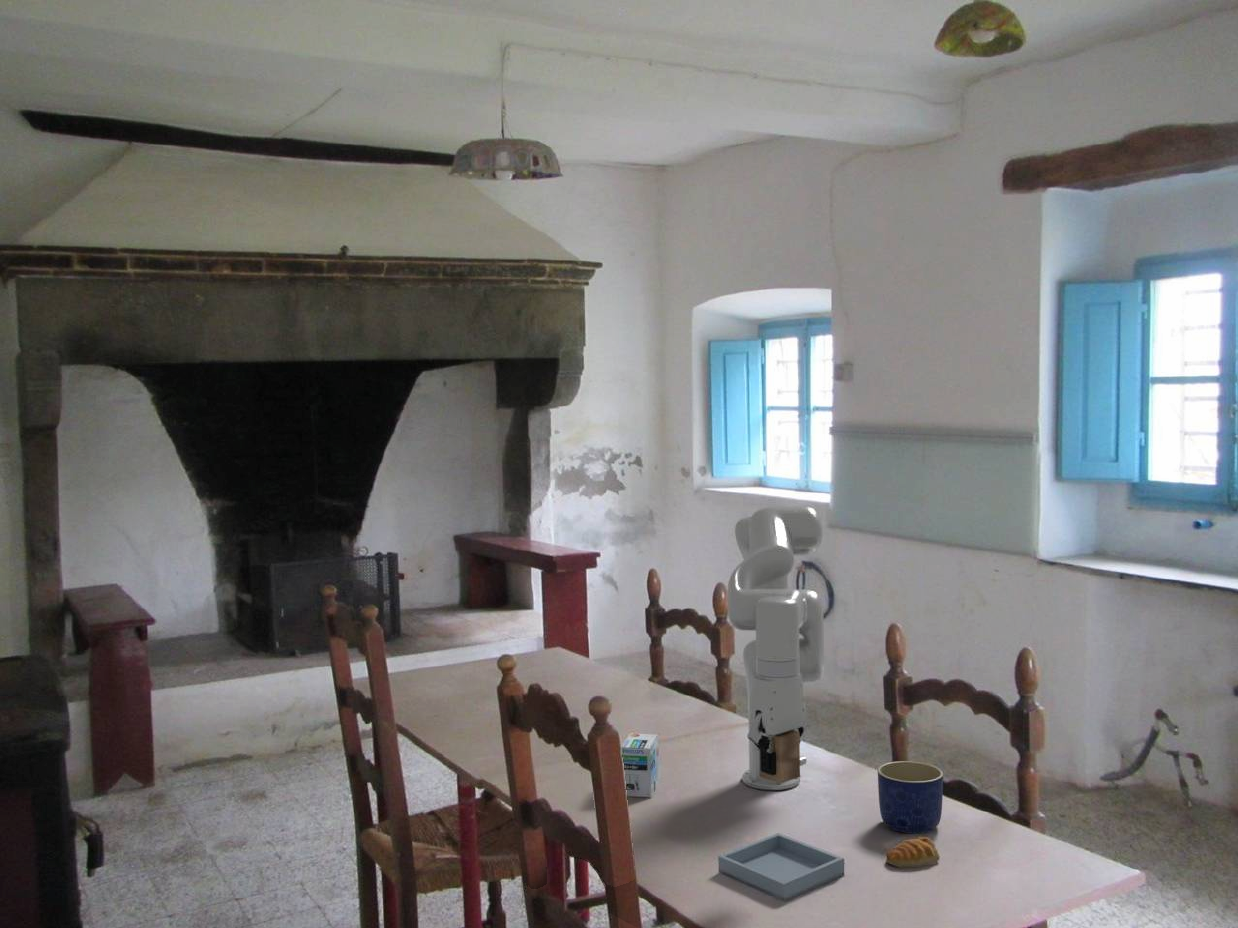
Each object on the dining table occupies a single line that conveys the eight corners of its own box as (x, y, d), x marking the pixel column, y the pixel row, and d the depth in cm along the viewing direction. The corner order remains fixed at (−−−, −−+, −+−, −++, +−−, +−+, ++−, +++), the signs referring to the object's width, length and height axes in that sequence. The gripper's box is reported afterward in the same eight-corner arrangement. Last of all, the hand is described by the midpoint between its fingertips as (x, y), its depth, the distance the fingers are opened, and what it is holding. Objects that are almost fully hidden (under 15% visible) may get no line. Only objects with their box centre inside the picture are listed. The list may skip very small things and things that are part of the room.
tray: (778, 848, 208) (778, 832, 208) (844, 874, 196) (844, 858, 196) (718, 872, 198) (718, 855, 198) (784, 901, 186) (783, 883, 186)
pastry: (902, 874, 196) (901, 853, 196) (877, 860, 202) (876, 840, 202) (942, 863, 200) (942, 842, 200) (917, 850, 206) (917, 830, 206)
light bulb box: (652, 798, 236) (650, 748, 235) (620, 796, 237) (619, 747, 237) (660, 781, 247) (659, 733, 246) (630, 779, 248) (629, 732, 247)
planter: (868, 830, 216) (867, 774, 215) (891, 809, 226) (890, 757, 226) (931, 843, 209) (930, 786, 208) (952, 821, 219) (951, 767, 219)
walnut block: (778, 769, 200) (778, 724, 199) (800, 776, 196) (799, 730, 195) (759, 776, 196) (758, 730, 196) (780, 783, 192) (779, 736, 192)
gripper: (794, 656, 203) (795, 754, 204) (728, 672, 192) (730, 775, 193) (826, 663, 197) (827, 763, 198) (759, 679, 187) (761, 786, 188)
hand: (779, 768), depth 196 cm, fingers closed on walnut block, 5 cm apart
